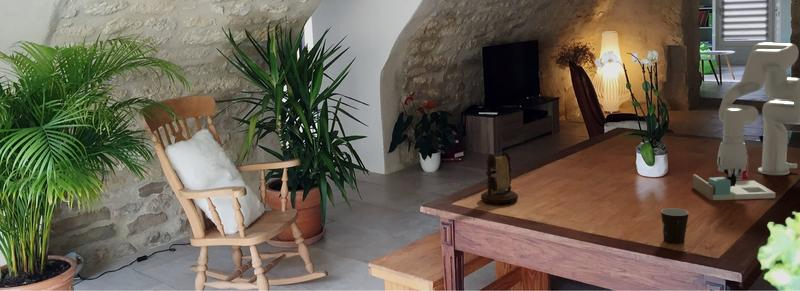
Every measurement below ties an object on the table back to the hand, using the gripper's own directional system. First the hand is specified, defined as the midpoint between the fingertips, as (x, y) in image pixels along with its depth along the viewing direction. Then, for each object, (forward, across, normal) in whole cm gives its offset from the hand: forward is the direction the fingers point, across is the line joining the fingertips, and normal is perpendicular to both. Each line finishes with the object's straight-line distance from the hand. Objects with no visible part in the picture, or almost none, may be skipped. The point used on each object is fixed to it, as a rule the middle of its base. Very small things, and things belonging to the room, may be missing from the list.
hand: (731, 185), depth 314 cm
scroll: (+4, +91, -4) cm, 91 cm away
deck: (+4, -3, -5) cm, 7 cm away
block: (+2, +6, +2) cm, 6 cm away
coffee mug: (+4, +40, +53) cm, 67 cm away
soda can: (+5, -12, -23) cm, 26 cm away
